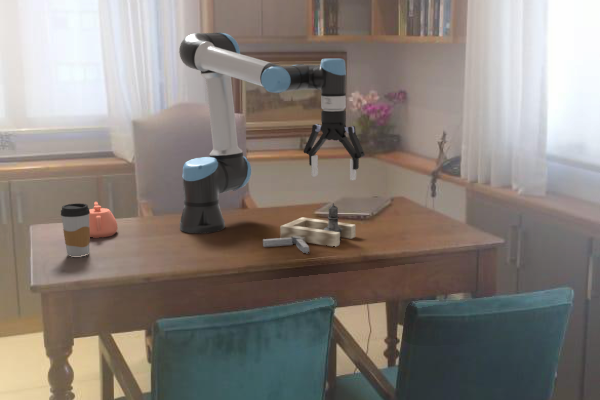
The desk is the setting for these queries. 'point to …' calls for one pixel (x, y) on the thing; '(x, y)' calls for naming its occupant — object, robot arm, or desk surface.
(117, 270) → the desk surface
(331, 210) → the grey tall rounded piece
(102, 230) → the teapot
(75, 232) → the coffee cup
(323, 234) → the bracket
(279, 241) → the v block
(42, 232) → the desk surface
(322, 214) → the desk surface
